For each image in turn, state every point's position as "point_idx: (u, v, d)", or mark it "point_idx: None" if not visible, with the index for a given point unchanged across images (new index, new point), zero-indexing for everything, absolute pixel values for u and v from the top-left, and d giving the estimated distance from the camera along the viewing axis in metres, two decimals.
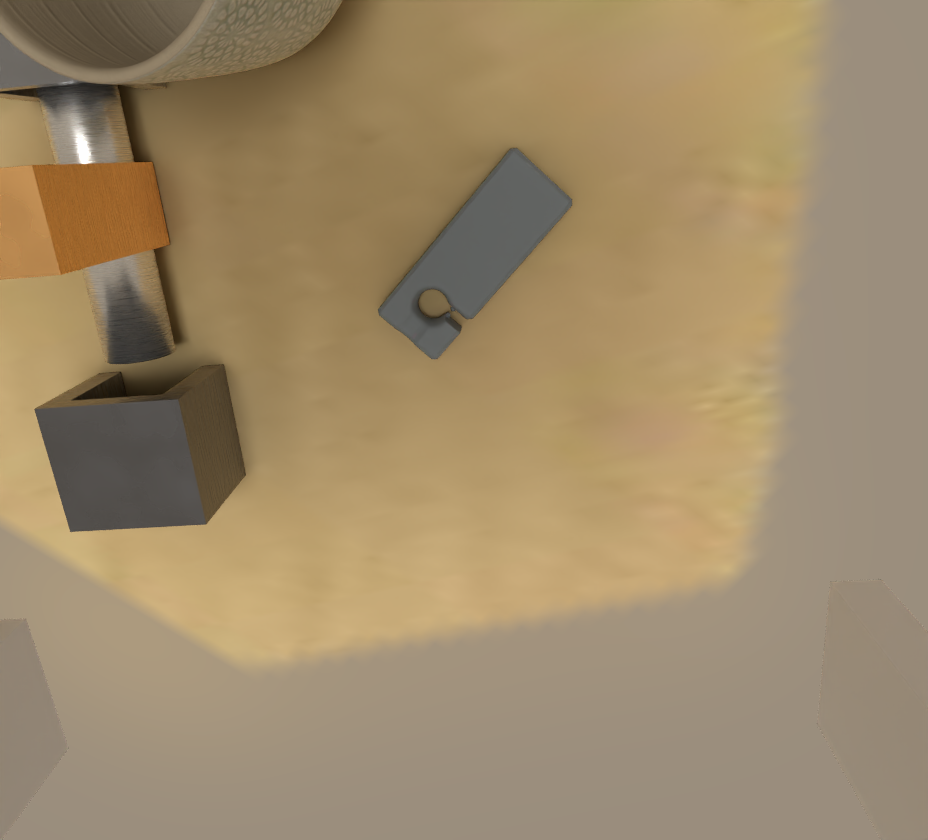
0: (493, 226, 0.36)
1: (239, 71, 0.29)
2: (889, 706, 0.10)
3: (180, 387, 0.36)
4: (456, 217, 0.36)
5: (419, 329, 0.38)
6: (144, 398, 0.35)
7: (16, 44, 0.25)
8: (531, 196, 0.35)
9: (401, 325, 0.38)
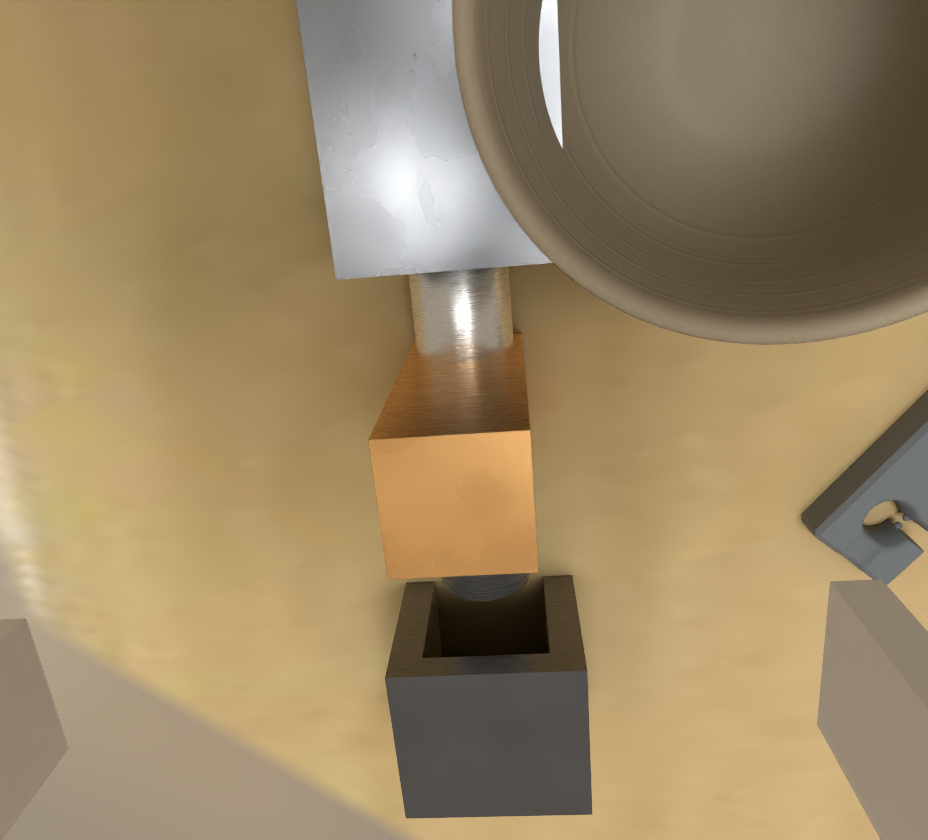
0: None
1: None
2: (888, 706, 0.10)
3: (561, 635, 0.27)
4: None
5: (868, 550, 0.28)
6: (532, 662, 0.26)
7: (572, 273, 0.16)
8: None
9: (846, 548, 0.28)
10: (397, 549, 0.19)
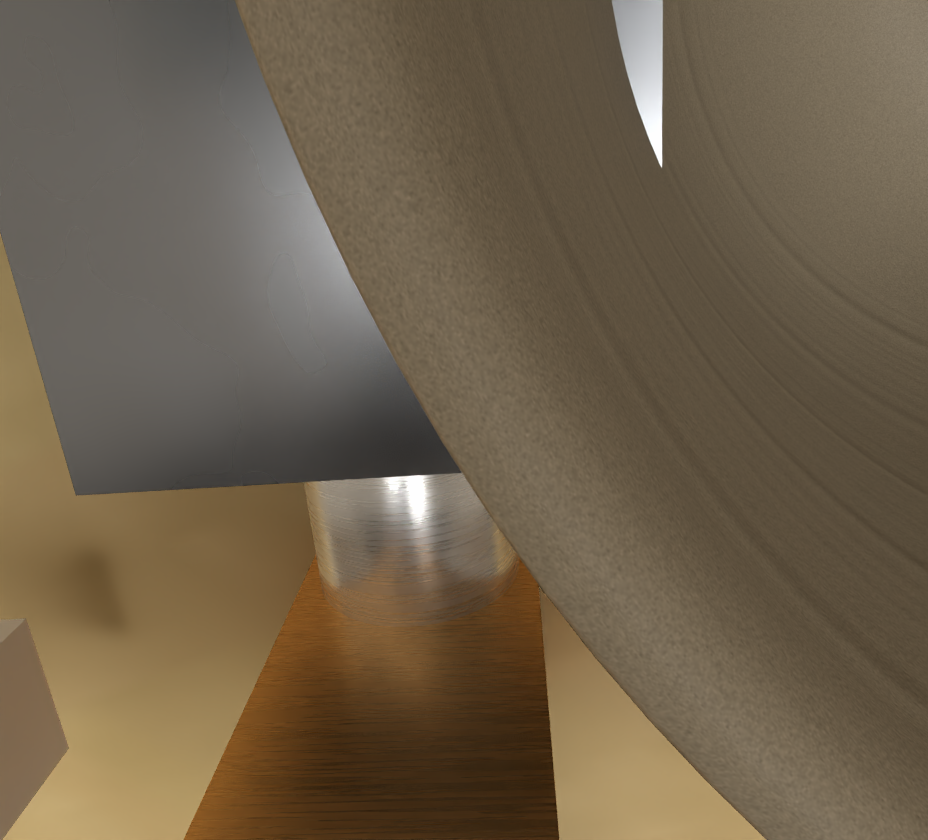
0: None
1: None
2: None
3: None
4: None
5: None
6: None
7: None
8: None
9: None
10: None
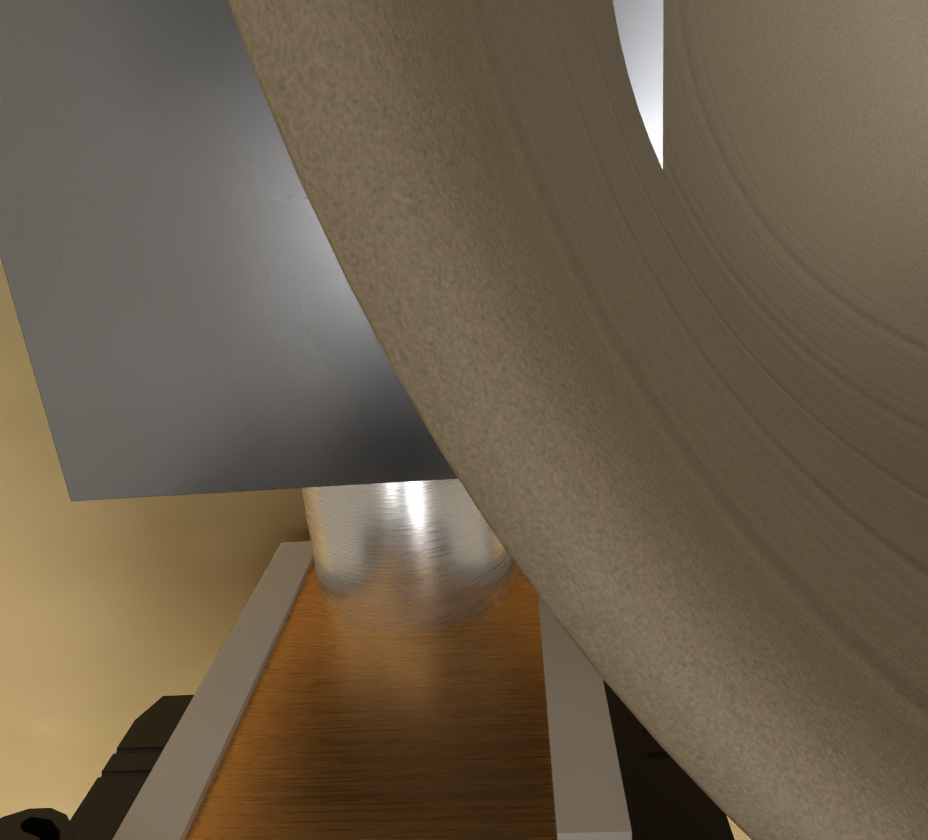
0: None
1: None
2: None
3: None
4: None
5: None
6: None
7: None
8: None
9: None
10: None
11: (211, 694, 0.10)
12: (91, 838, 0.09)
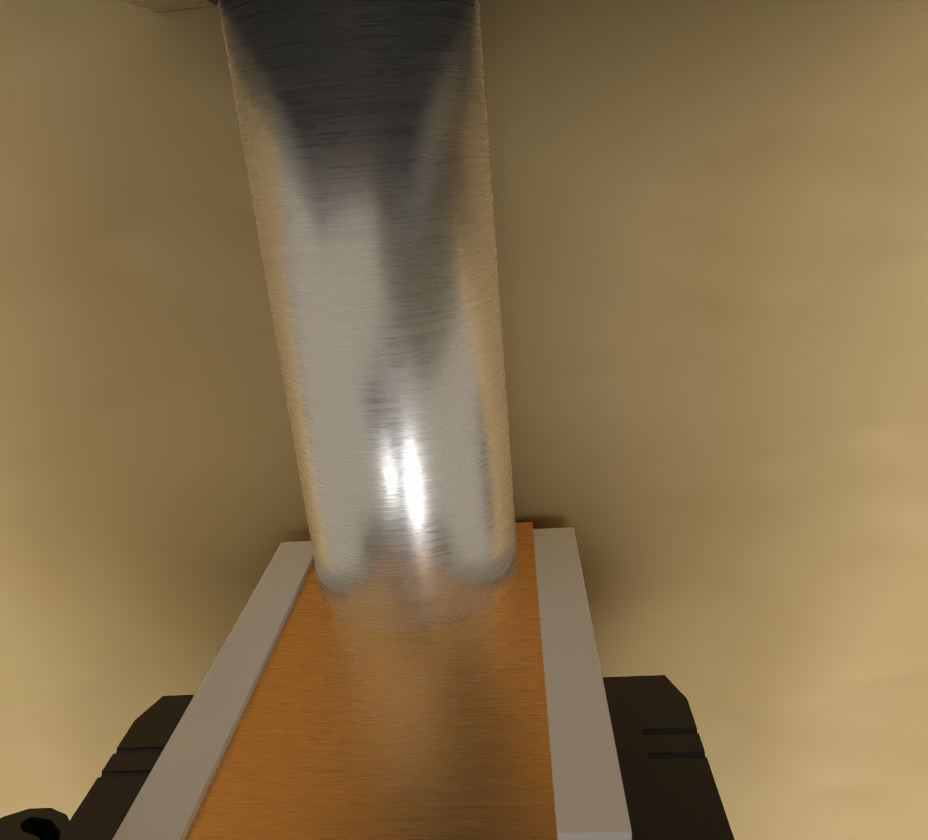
0: None
1: None
2: None
3: None
4: None
5: None
6: None
7: None
8: None
9: None
10: None
11: (211, 694, 0.10)
12: (91, 838, 0.09)
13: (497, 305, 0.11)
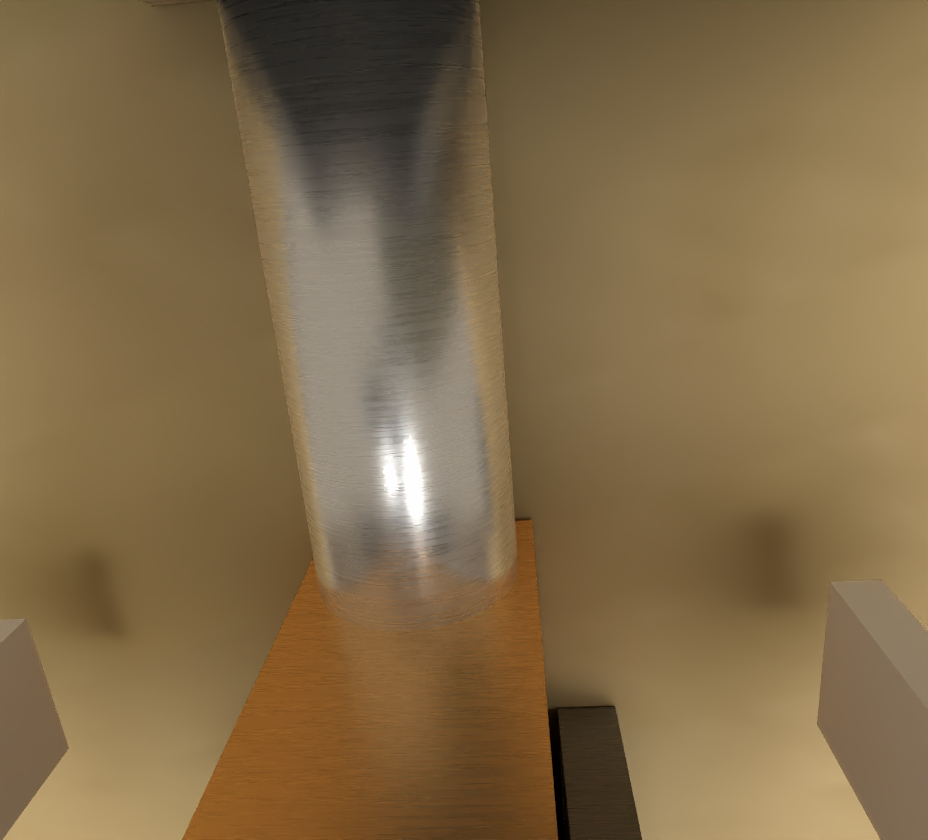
0: None
1: None
2: (889, 706, 0.10)
3: None
4: None
5: None
6: None
7: None
8: None
9: None
10: None
11: None
12: None
13: (497, 303, 0.11)
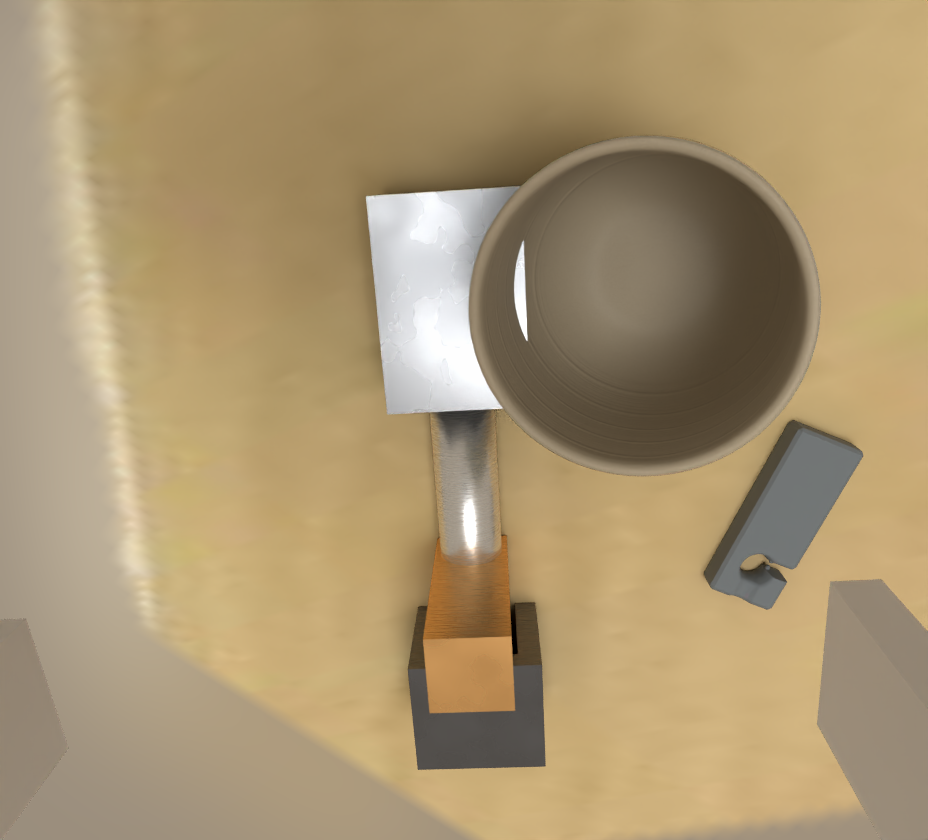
0: (798, 493, 0.40)
1: None
2: (889, 706, 0.10)
3: (525, 642, 0.41)
4: (763, 495, 0.40)
5: (750, 589, 0.42)
6: None
7: (530, 433, 0.29)
8: (826, 460, 0.39)
9: (734, 591, 0.42)
10: (435, 697, 0.35)
11: None
12: None
13: (497, 475, 0.40)
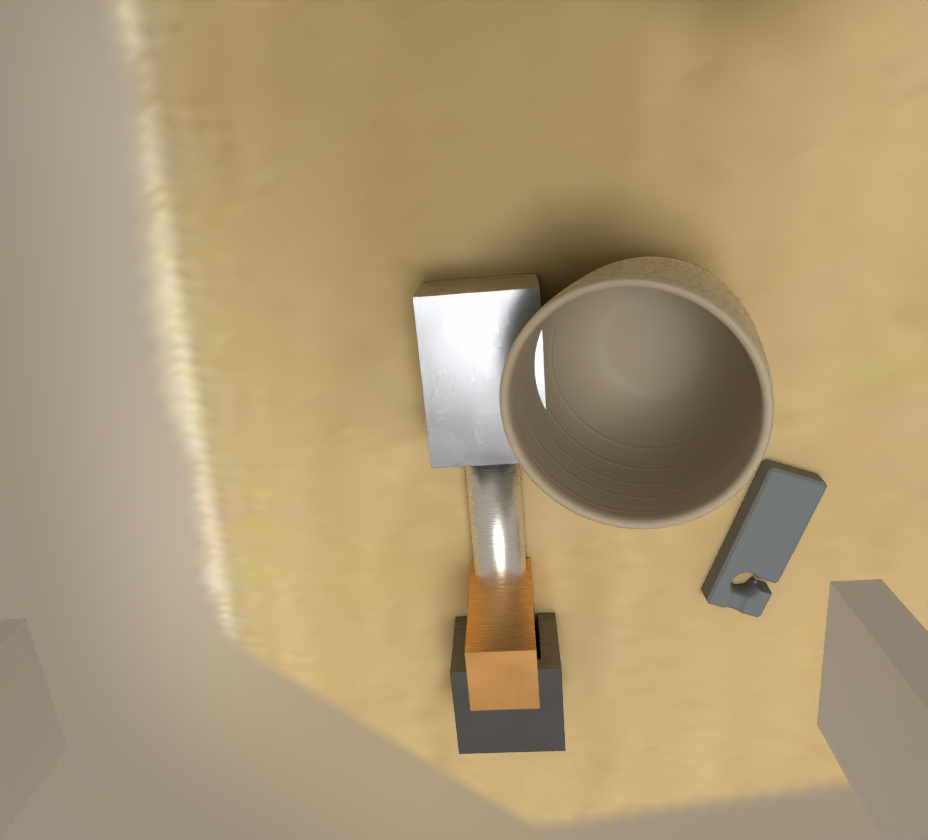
0: (774, 521, 0.47)
1: (657, 473, 0.41)
2: (889, 706, 0.10)
3: (547, 648, 0.49)
4: (744, 524, 0.48)
5: (741, 601, 0.50)
6: None
7: (549, 495, 0.37)
8: (795, 493, 0.47)
9: (727, 604, 0.50)
10: (475, 698, 0.43)
11: None
12: None
13: (521, 511, 0.47)
